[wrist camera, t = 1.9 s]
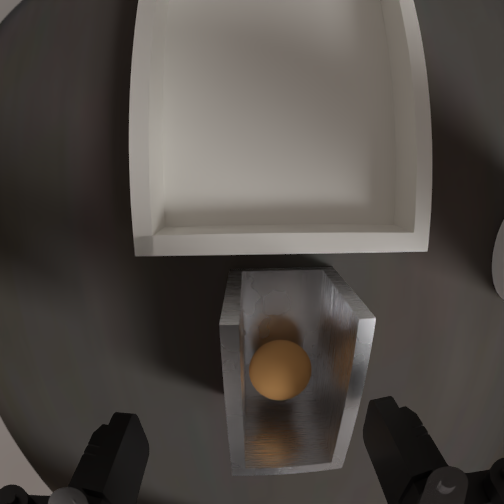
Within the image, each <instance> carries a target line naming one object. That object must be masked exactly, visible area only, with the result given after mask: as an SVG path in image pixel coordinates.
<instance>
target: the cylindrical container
mask: <svg viewBox="0 0 504 504" xmlns="http://www.w3.org/2000/svg"><path fill="white" fill-rule="evenodd" d="M492 277H493V283H494V286H495V289H496V292H497V293H498V295H499V296H500V297H501V298H502V299H503V300H504V220H503V222H502V224H501V226H500V229H499V231H498V234H497V237H496V241H495V245H494V250H493V257H492Z"/></svg>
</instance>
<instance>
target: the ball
mask: <svg viewBox="0 0 504 504" xmlns="http://www.w3.org/2000/svg"><path fill="white" fill-rule="evenodd" d="M249 376H250V380H251V382H252V384H253V386H254V388H255V389H256V390H257V391H258V392H259V393H260V394H261V395H263V396H265V397H267V398H269V399H272V400H287V399H291V398H293V397H295V396H297V395H298V394H300V393H301V392H302V391H303V390H304V389H305V388H306V386H307V385H308V383H309V380H310V377H311V362H310V359H309V357H308V355H307V353H306V352H305V351H304V349H303V348H301V347H300V346H299V345H297V344H295V343H293V342H291V341H287V340H274V341H271V342H268V343H266V344H264V345H263V346H261V347H260V348H259V349H258V350H257V351H256V352H255V353H254V355H253V357H252V359H251V361H250V365H249Z"/></svg>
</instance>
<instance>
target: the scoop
mask: <svg viewBox="0 0 504 504" xmlns="http://www.w3.org/2000/svg"><path fill="white" fill-rule="evenodd" d="M375 321H376V318H375V316H374V315H373V314H372V313H371V311H370V310H369V309H368V308H367V307H366V305H365V304H364V303H363V302H362V301H361V299H360V298H359V297H358V296H357V295H356V294H355V292H354V291H353V290H352V289H351V288H350V286H349V285H348V284H347V283H346V282H345V281H344V279H343V278H342V277H341V276H340V275H339V274H338V272H337V271H336V270H335V269H334V268H333V267H298V268H251V269H230V270H229V275H228V280H227V285H226V291H225V296H224V301H223V307H222V312H221V317H220V323H219V331H220V345H221V359H222V372H223V384H224V396H225V407H226V418H227V428H228V438H229V448H230V458H231V467H232V475H233V476H250V475H279V474H293V473H305V472H314V471H323V470H330V469H337V468H342V466H343V463H344V460H345V457H346V453H347V450H348V446H349V443H350V439H351V436H352V432H353V428H354V424H355V421H356V417H357V413H358V408H359V404H360V400H361V396H362V391H363V387H364V382H365V377H366V372H367V367H368V362H369V357H370V351H371V346H372V340H373V334H374V327H375ZM274 340H287V341H291V342H293V343H295V344H297V345H299V346H300V347H301V348H303V349H304V351H305V352H306V353H307V355H308V357H309V359H310V362H311V377H310V380H309V383H308V385H307V386H306V388H305V389H304V390H303V391H302V392H301V393H300V394H298V395H297V396H295V397H293V398H291V399H287V400H272V399H269V398H267V397H265V396H263V395H261V394H260V393H259V392H258V391H257V390H256V389H255V388H254V386H253V384H252V382H251V380H250V376H249V365H250V361H251V359H252V357H253V355H254V353H255V352H256V351H257V350H258V349H259V348H260V347H261V346H263V345H264V344H266V343H268V342H271V341H274Z"/></svg>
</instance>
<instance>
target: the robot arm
mask: <svg viewBox="0 0 504 504" xmlns="http://www.w3.org/2000/svg"><path fill="white" fill-rule="evenodd" d="M363 439H364V443H365V446H366V449H367V451H368V454H369V456H370V459H371V461H372V464H373V466H374V469H375V471H376V474H377V476H378V479H379V482H380V484H381V487H382V489H383V492H384V495H385V497H386V500H387V503H388V504H504V458H501V459H499V460H497V461H496V462H495V463H494V464H493V465H492V467H491V468H490V470H485V471H479V472H473V473H464V472H463V471H462V470H460V469H458V468H456V467H451V466H448V464H447V463H446V462H445V460H444V458H443V456H442V455H441V453H440V451H439V450H438V448H437V446H436V445H435V443H434V441H433V440H432V438H431V437H430V435H428V432H427V430H426V428H425V427H424V426H423V424H422V422H421V420H420V419H419V417H418V416H417V414H416V413H414V412H413V411H412V410H410V409H409V408H407V407H406V406H405V407H401V408H399V407H398V405H397V403H396V402H395V400H394V398H393V397H392V396H388V397H383V398H379V399H374V400H370V402H369V405H368V409H367V414H366V419H365V423H364V427H363ZM148 457H149V443H148V440H147V438H146V435H145V433H144V431H143V428H142V426H141V423H140V421H139V418H138V416H137V415H136V414H130V413H119V412H115V413H114V414H113V416H112V418H111V420H110V423H109V425H105V424H102V425H101V426H100V427H99V428H98V429H97V430H96V431H95V432H94V433H93V435H92V437H91V439H90V441H89V443H88V446H87V447H86V449H85V451H84V454H83V455H82V458H81V460H80V462H79V464H78V466H77V468H76V471H75V473H74V475H73V477H72V479H71V482H70V484H69V486H68V487H64V488H60V489H58V490H56V491H55V492H53V493H52V495H51V496H37V495H28V494H27V493H26V492H25V490H24V489H23V488H21V487H20V486H17V485H7V486H4V487H3V488H2V489H0V504H136V501H137V497H138V493H139V490H140V486H141V482H142V479H143V475H144V471H145V468H146V464H147V460H148Z"/></svg>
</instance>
